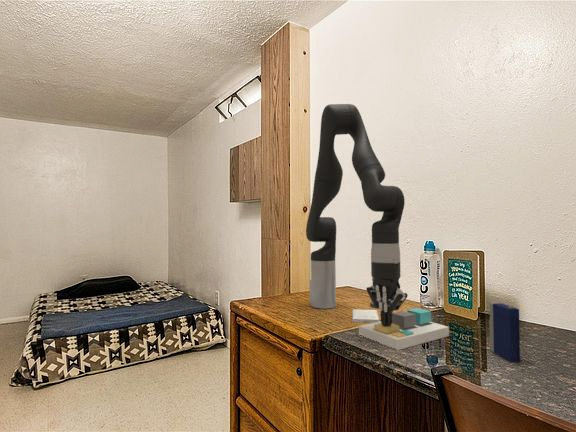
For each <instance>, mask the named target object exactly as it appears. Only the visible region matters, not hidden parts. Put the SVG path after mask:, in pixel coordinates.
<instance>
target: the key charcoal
mask: <svg viewBox="0 0 576 432" xmlns="http://www.w3.org/2000/svg"><path fill="white" fill-rule="evenodd" d="M392 324H395V325H398V326H400V327H403V328H406V327H411V326H415V325H416V315H415V314H412V313H409V312H407V311H404V310H399V311H395V312H392Z"/></svg>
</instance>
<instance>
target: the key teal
mask: <svg viewBox="0 0 576 432" xmlns="http://www.w3.org/2000/svg"><path fill="white" fill-rule="evenodd" d="M406 312H409V313H412V314H415V315H416V323H418V324H423V323H428V322H432V311H431V310H427V309H425V308H420V307H415V308H410V309H407V311H406Z"/></svg>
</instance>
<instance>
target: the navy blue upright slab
mask: <svg viewBox="0 0 576 432" xmlns="http://www.w3.org/2000/svg"><path fill="white" fill-rule="evenodd" d="M488 320H489V323H488V324H489V325H488V326H489V351H490V352H492V353H493V354H494V355H496V356H499V357H500V358H503V359H504V360H505V361H508V362H510V363H521V348H520V347H521V343H520V341H521V337H520V309H519V308H517V307H515V306H514V305H508V304H505V303H501V302H498V301H493V302H490V303H489V319H488Z"/></svg>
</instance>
